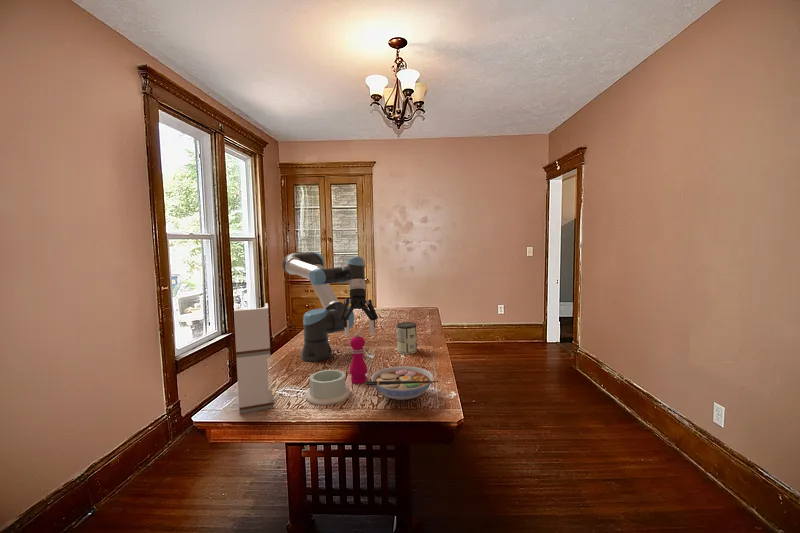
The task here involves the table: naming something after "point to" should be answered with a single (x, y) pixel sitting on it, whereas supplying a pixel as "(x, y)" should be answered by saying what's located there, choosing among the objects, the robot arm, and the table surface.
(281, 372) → the table surface
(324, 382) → the well
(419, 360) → the table surface
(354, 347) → the pepper mill
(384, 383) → the ramen bowl
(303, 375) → the table surface
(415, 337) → the coffee can
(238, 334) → the spiral stair tower
